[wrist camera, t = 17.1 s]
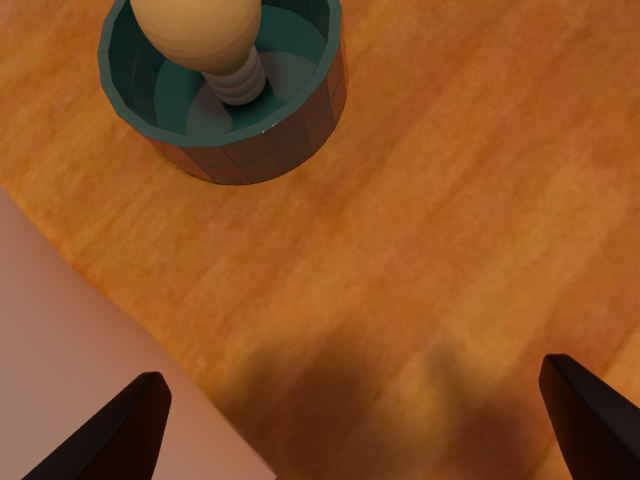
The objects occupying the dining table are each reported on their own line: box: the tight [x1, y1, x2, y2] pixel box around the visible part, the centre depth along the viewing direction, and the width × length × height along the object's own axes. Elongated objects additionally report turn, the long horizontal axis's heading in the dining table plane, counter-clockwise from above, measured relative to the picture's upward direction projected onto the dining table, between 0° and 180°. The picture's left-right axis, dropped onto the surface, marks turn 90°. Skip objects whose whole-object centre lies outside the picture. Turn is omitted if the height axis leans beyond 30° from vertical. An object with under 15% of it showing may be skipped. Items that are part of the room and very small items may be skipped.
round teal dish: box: [97, 0, 347, 185], centre depth 25 cm, size 14×14×6 cm
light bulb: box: [130, 0, 266, 105], centre depth 22 cm, size 6×6×10 cm
